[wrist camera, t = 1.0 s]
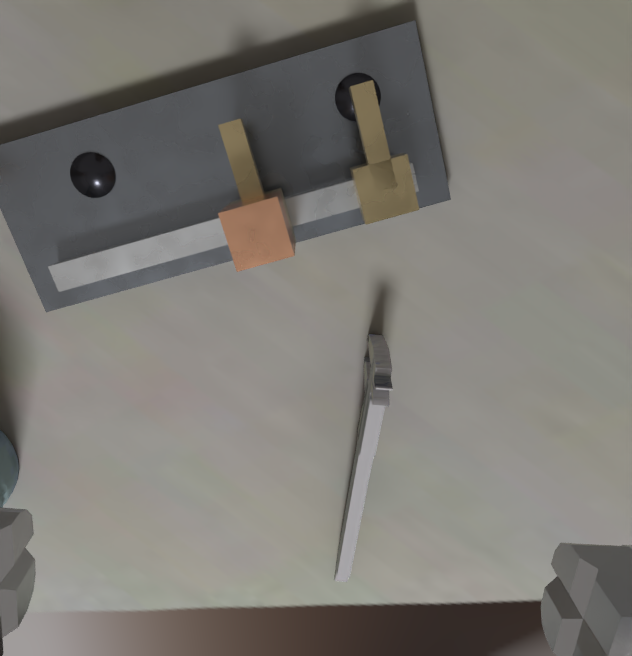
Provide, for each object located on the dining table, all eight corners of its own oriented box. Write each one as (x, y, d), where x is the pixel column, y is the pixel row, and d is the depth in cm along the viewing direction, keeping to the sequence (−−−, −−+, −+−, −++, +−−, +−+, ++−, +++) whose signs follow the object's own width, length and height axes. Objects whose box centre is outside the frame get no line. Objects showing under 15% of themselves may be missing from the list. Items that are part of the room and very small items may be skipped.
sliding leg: (261, 115, 33) (252, 111, 27) (296, 235, 35) (294, 255, 29) (211, 130, 33) (190, 129, 27) (248, 248, 35) (236, 271, 29)
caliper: (366, 330, 39) (377, 365, 34) (382, 331, 40) (396, 366, 34) (333, 576, 46) (338, 642, 40) (347, 577, 46) (354, 643, 40)
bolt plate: (410, 25, 33) (428, 6, 29) (445, 196, 36) (466, 206, 32) (-12, 151, 35) (-61, 153, 30) (55, 305, 38) (20, 329, 33)
